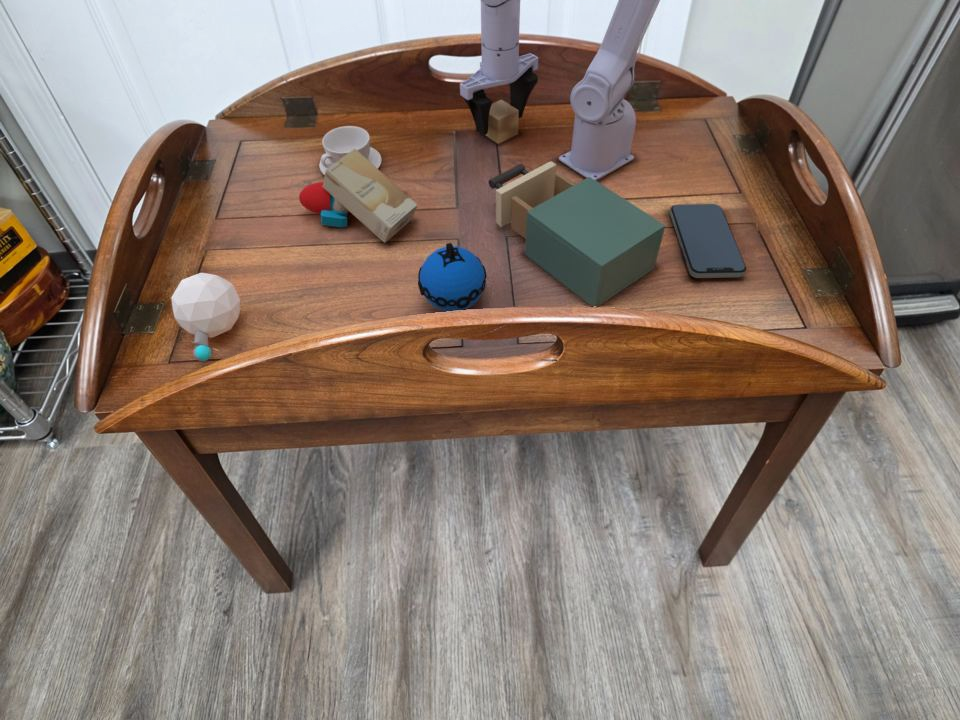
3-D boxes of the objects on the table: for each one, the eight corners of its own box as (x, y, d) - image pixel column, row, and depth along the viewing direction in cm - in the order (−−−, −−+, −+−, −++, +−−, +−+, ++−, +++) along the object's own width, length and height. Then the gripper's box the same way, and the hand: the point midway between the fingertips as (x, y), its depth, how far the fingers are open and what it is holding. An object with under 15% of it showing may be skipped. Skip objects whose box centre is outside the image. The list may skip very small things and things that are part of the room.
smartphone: (720, 202, 95) (749, 270, 85) (717, 211, 96) (745, 280, 87) (669, 203, 95) (692, 272, 85) (666, 212, 96) (689, 281, 87)
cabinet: (524, 254, 91) (526, 211, 85) (583, 219, 95) (589, 176, 89) (594, 309, 84) (601, 266, 78) (654, 268, 89) (665, 225, 83)
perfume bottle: (254, 276, 84) (254, 354, 78) (214, 306, 87) (211, 382, 81) (199, 249, 78) (195, 330, 72) (160, 282, 82) (152, 362, 75)
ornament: (496, 315, 84) (496, 258, 76) (433, 334, 82) (426, 277, 74) (473, 272, 89) (471, 214, 81) (413, 289, 87) (405, 231, 79)
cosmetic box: (391, 229, 89) (323, 170, 89) (385, 244, 93) (320, 188, 92) (420, 203, 92) (354, 146, 92) (412, 219, 96) (349, 164, 96)
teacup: (355, 139, 109) (350, 114, 106) (394, 163, 105) (390, 137, 101) (307, 166, 105) (300, 140, 101) (345, 191, 100) (340, 166, 97)
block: (501, 123, 111) (501, 99, 108) (518, 134, 109) (518, 110, 106) (481, 132, 110) (481, 108, 106) (498, 144, 108) (498, 120, 104)
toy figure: (400, 198, 101) (301, 193, 99) (402, 173, 98) (299, 167, 95) (401, 233, 97) (298, 229, 94) (403, 208, 93) (296, 203, 90)
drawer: (477, 208, 96) (476, 175, 91) (529, 180, 100) (530, 147, 95) (555, 268, 88) (558, 235, 83) (608, 235, 92) (614, 202, 87)
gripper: (518, 18, 102) (516, 98, 113) (445, 47, 97) (450, 129, 107) (549, 34, 99) (543, 115, 109) (475, 65, 93) (477, 148, 104)
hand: (499, 123), depth 108 cm, fingers open, 7 cm apart
